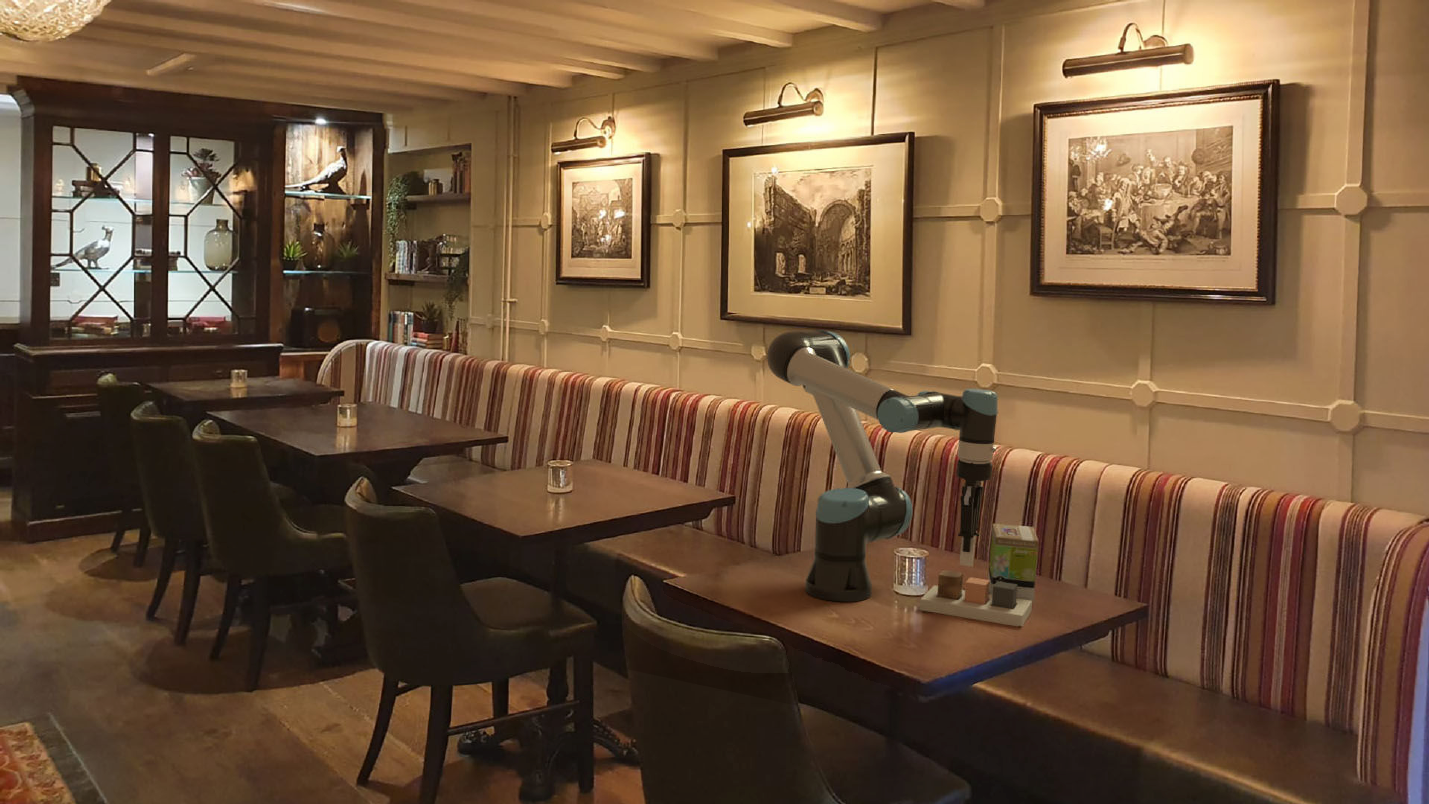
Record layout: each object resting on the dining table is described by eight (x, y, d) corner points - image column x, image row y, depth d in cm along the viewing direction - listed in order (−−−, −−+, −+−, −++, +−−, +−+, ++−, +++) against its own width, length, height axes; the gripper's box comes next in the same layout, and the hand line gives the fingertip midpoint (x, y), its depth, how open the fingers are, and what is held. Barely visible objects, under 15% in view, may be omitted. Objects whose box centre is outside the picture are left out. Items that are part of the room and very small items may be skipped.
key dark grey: (991, 608, 241) (993, 586, 240) (995, 603, 245) (997, 581, 244) (1012, 612, 239) (1013, 589, 239) (1015, 606, 243) (1017, 584, 243)
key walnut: (937, 596, 246) (938, 574, 245) (942, 591, 250) (943, 570, 249) (957, 599, 244) (958, 577, 244) (961, 594, 248) (963, 573, 248)
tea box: (1035, 603, 252) (1039, 540, 250) (989, 599, 254) (993, 536, 252) (1029, 585, 267) (1034, 525, 265) (987, 581, 269) (991, 521, 267)
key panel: (919, 610, 244) (920, 599, 244) (933, 595, 255) (934, 585, 255) (1021, 627, 235) (1022, 615, 235) (1031, 611, 246) (1032, 600, 245)
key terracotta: (964, 604, 244) (965, 582, 243) (968, 598, 248) (970, 577, 247) (984, 607, 242) (985, 585, 241) (988, 602, 246) (989, 580, 245)
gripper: (986, 467, 234) (977, 575, 238) (997, 457, 246) (988, 560, 249) (951, 462, 237) (942, 569, 241) (964, 453, 249) (955, 555, 252)
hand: (966, 564), depth 245 cm, fingers closed
